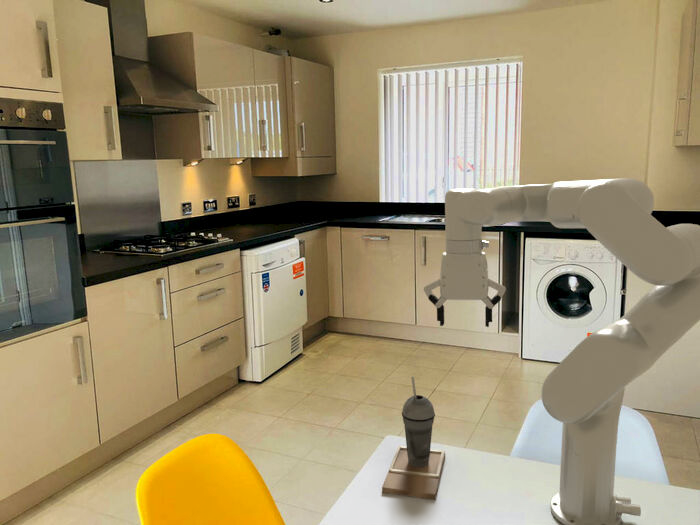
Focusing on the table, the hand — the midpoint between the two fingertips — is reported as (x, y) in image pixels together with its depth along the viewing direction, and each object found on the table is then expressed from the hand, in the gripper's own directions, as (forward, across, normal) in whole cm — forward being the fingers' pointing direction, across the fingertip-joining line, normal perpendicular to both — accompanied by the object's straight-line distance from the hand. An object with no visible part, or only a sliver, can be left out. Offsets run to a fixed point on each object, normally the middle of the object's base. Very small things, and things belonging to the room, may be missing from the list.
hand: (464, 324), depth 128 cm
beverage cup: (+31, +10, +5) cm, 33 cm away
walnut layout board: (+32, +11, +8) cm, 34 cm away
